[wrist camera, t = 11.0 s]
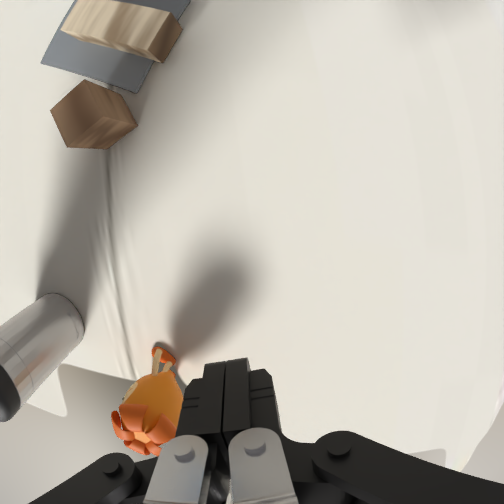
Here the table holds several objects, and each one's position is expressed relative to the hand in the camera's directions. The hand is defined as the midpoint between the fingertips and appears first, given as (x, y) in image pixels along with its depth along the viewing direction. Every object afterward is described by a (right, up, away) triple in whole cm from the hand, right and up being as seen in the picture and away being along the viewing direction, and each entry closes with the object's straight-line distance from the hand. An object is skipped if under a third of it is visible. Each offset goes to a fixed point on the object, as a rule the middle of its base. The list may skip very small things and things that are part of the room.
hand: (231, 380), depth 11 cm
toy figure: (-10, -12, +32) cm, 36 cm away
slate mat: (-18, +34, +20) cm, 43 cm away
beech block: (-9, +28, +18) cm, 34 cm away
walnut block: (-16, +21, +23) cm, 35 cm away
